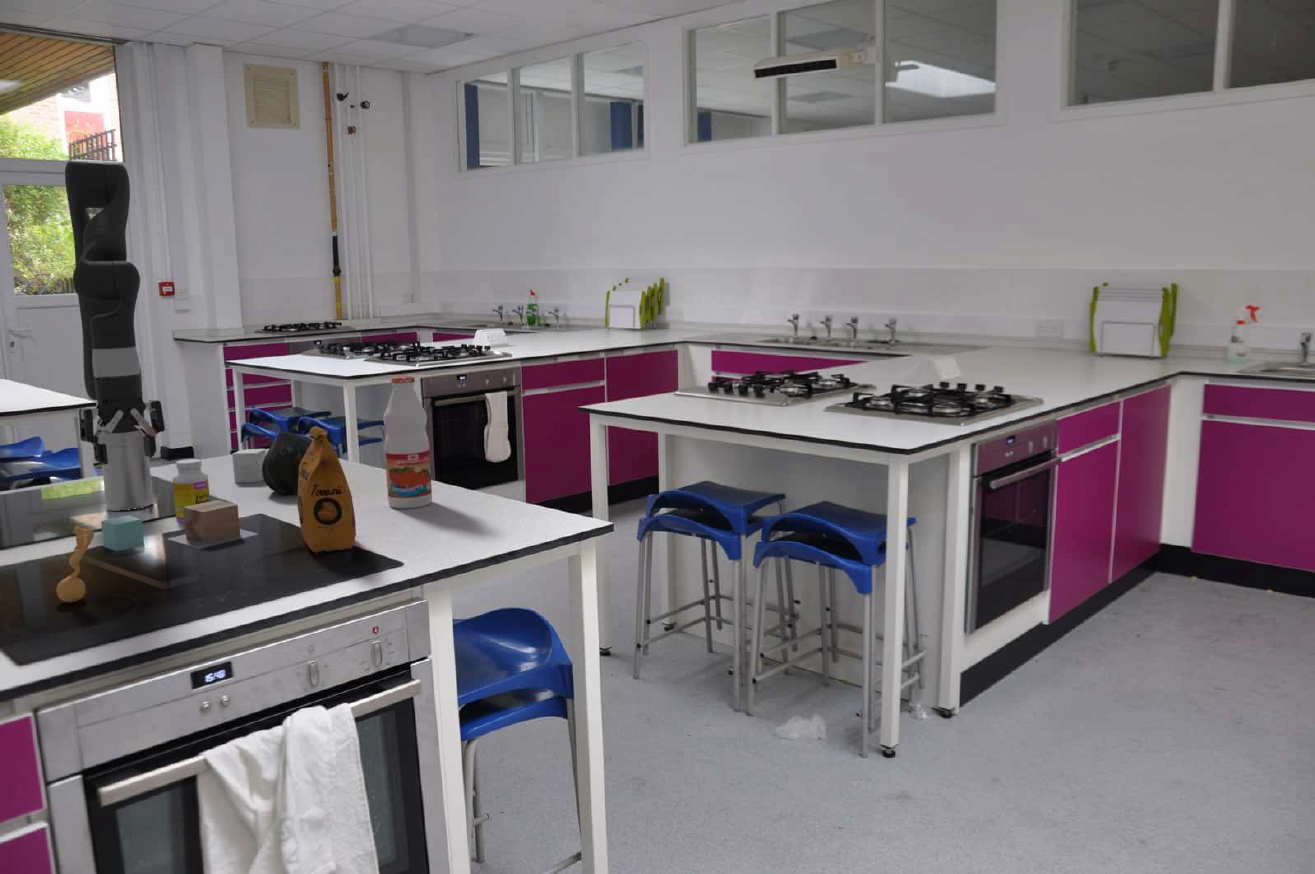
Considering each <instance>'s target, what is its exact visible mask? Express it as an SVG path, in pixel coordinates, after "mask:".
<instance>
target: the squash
mask: <svg viewBox="0 0 1315 874" xmlns="http://www.w3.org/2000/svg"><path fill="white" fill-rule="evenodd" d="M312 441H313V439H311V438H309V437H307V436H303V435H300V434H297V433H294V432H289V431H279V433H278V434H277V435H276V436H275V438H274V440H273V442H272V443H271V445H270V447H269V449H268V451H267V452H266V456H265V458H264V461H263V464H262V476H263V479H264V480H263V481H264V483H265V485H266V486H267V487H268V488H269V489H271V491H273V492H276V493H280V494H283V495H287V496H288V495H293V494H297V495H298V477H299V465H300V463H301V461H302V459H303V457H304V455H305V453H306V451H307V450H308V448H309V446H310V445H311V443H312Z"/></svg>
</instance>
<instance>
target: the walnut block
mask: <svg viewBox="0 0 1315 874" xmlns="http://www.w3.org/2000/svg"><path fill="white" fill-rule="evenodd" d="M238 505H239V504H235V503H232V502H228V501H224V500H218V499H216V500H212V501H211V500H210V502H206V503H201V504H196V505H191V506H187V507H183V512H184V521H183V522H184V529H185V534H186V538H189V539H192V540H196V541H199V542H203V543H209V542H213V541H218V540H222V539H226V538H230V537H234V536H238V535H240V529H241V528H240V527H241V526H240V518H239V506H238Z"/></svg>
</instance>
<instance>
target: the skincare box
mask: <svg viewBox="0 0 1315 874" xmlns="http://www.w3.org/2000/svg"><path fill="white" fill-rule="evenodd" d="M266 451H267V450H266V448H251V449H250V448H245V449H244V448H242V449H241V450H237V451H236V452H234V453H231V454H232V455H231V456H232V465H233V468H232V469H233V477H234V478H233V479H234V480H233V481H234V483H236V484H237V483H240V484H241V483H242V484H243V483H260V482H261V481H264V479H263V476H262V464H263V461H264V458H265V456H266V454H267V452H266Z"/></svg>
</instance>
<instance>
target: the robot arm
mask: <svg viewBox="0 0 1315 874" xmlns="http://www.w3.org/2000/svg"><path fill="white" fill-rule="evenodd" d="M64 170H65V171H64V181H65V190H66V195H67V196H66V197H67V203H68V210H69V215H70V222H71V228H72V233H73V234H72V235H73V243H74V244H73V245H74V259H75V267H74V270H73V273H72V287H73V289H74V291H75V293H76V295H77V297H78V307H79V311H80V320H81V321H80V322H81V329H82V349H83V350H82V354H83V355H82V356H83V357H82V358H83V359H82V360H83V379H84V380H83V381H84V388H85V391H86V394H87V396H88V398H90V399H91V400H92V401H97V402H96V403H97V405H96V407H95V408H87V407H86V408H85V407H82V408H80V409H79V410H78V419H79V421H78V422H79V436H80V437H79V439H80V440H81V442H86V443H90V444H92V447H93V456H94V461H96V462H98V464H99V465H101V466H102V467H101V468H102V475H103V476H102V477H103V485H104V494H105V501H106V504H105V505H106V510H108V511H111V512H121V511H120V510H128V509H134V508H142V507H146V506H148V505H150V504H152V503H155V501H154V494H153V483H152V473H151V465H150V458H152V457H154V456H155V453H156V452H157V442H156V435H158V434H159V433H162V432H163V433H164V431H165V430H166V426H165V421H164V415H163V409H162V408H163V407H162V403H161V401H160V400H157V399H149V400H148V401H144V399H143V394H144V393H143V377H142V368H141V364H140V358H139V354H138V350H137V341H136V332H135V325H134V324H135V310H136V304H137V298H138V295H139V290H140V285H141V276H140V273H139V270H138V269H137V267H136V266H135V265H134V264H133V263H131V262H130V261H127V260H128V259H127V258H128V251H127V241H126V229H127V224H128V218H129V213H130V212H129V211H130V201H131V200H130V199H131V185H130V177H129V173H128V170H127V168H126V166H124V164H122V163H121V162H117V161H110V160H98V159H97V160H95V159H94V160H93V159H70V160H68V161H67V163H66V165H65V168H64ZM90 208H91V209H101V210H100V211H99V212H97V213H96V214H95V215H94V216H93V217H92V218H91V216H90V214H89V212H88V209H90ZM145 410H146V412H147V413H149V417H150V419H149V420H150V423H151V424H150V423H149V422H148V421H147V420H146V418H145ZM96 416H97V417H99V418H98V419H97V422H96V423H97V424H96V425H97V427H96V428H95V432H94V420H95V419H96ZM146 508H147V507H146ZM142 509H143V508H142Z"/></svg>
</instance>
